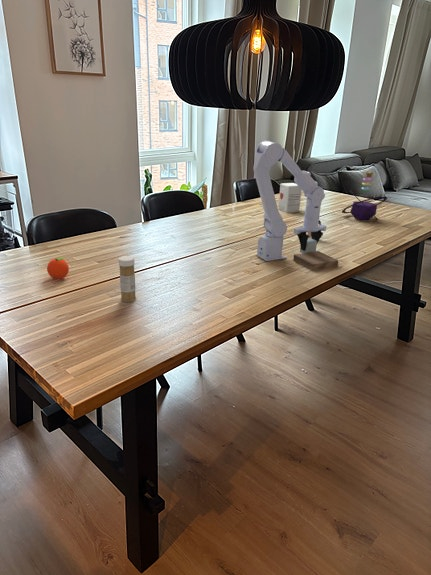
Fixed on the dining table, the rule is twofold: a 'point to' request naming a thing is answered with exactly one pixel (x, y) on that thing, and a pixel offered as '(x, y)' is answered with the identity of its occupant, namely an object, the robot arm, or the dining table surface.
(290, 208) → the supplement box
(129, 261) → the sprinkles bottle
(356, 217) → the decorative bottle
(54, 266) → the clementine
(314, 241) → the grey block
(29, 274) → the dining table surface
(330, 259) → the walnut block
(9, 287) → the dining table surface
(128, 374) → the dining table surface
